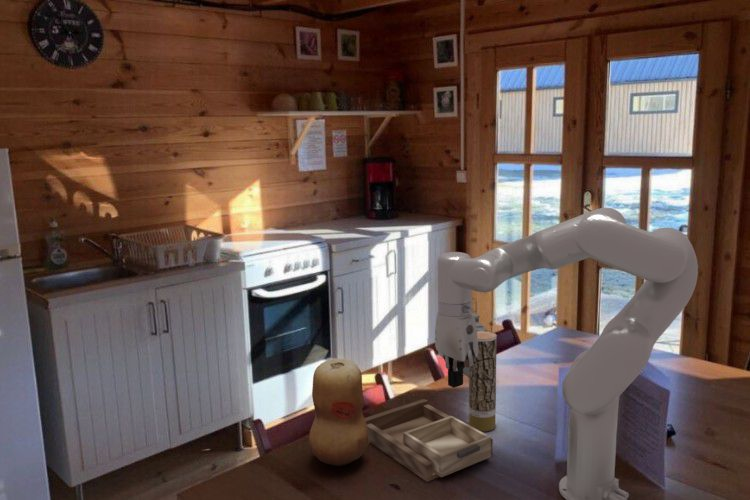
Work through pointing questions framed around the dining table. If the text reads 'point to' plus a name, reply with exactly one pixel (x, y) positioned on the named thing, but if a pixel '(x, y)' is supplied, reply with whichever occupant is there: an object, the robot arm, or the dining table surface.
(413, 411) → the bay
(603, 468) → the robot arm
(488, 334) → the wooden log
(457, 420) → the crate
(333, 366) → the butternut squash
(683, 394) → the dining table surface
